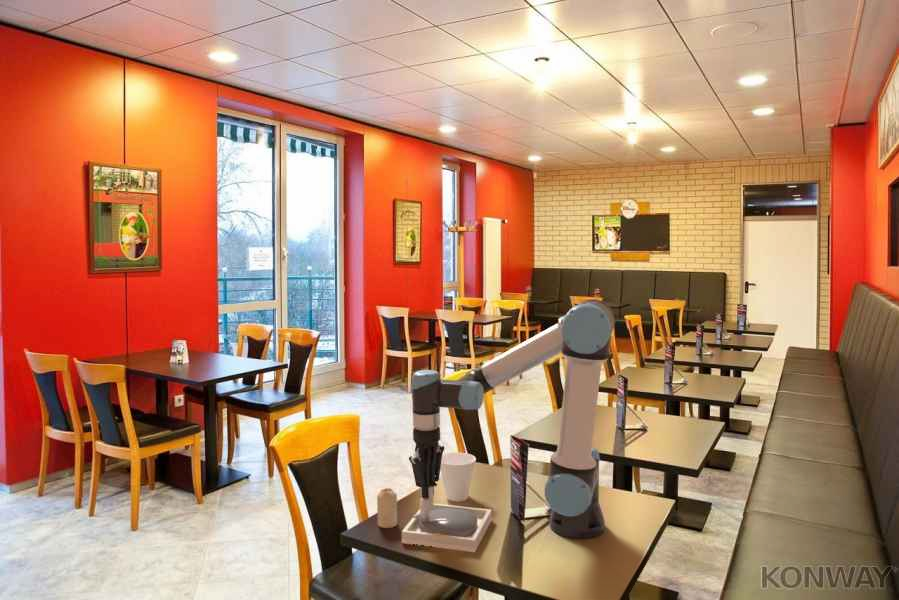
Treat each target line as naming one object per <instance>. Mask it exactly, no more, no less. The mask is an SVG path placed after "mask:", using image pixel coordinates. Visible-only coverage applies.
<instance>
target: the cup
mask: <svg viewBox="0 0 899 600" xmlns="http://www.w3.org/2000/svg"><path fill="white" fill-rule="evenodd" d="M476 460H477V458H476V456H474V454H470V453H466V452H449V453H448V452H447V453H445V454H442V460H441V468H440V474H441V477H442V482H443V487H444V491H445V493H444V494H445V496H446V499H447V500H449V501H451V502H464V501H467V499H468V498H469V496H470V489H471V486H472V481H473V476H474V471H475V467H476V466H475V465H476Z"/></svg>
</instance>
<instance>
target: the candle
mask: <svg viewBox="0 0 899 600" xmlns="http://www.w3.org/2000/svg"><path fill="white" fill-rule="evenodd" d="M397 495H398V494H397V493H396V492H395V491H394V490H393V489H392V488H391V487H390V488H388V487H387V488H383V489H381V490H380V492H378V493H377V496H376V498H377V499H376V500H377V501H376V503H377V504H376V505H377V506H376V507H377V509H376V510H377V526H378V527H380V528H383V529H390V528H394V527H396V526H397V525H398V496H397Z"/></svg>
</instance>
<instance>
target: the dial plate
mask: <svg viewBox="0 0 899 600" xmlns="http://www.w3.org/2000/svg"><path fill="white" fill-rule="evenodd" d="M441 508H457V509H462V510H466V511H469V512H471V513H473V514H474V515H475V516H476V517H477V530H476V531H475V533H473V534H472V535H470V536H468V537H457V536H449V535H442V534H441V533H435V534H432V533H424V532H421V531H420V529H419V519H420V508H419V509H418V510H417V512H416V513H414V515H413V516H412V518H411V519H410V520H409V522H408V523H407V524H406V526H404V528H403V530H401V544H406V545H413V544H415V546H421V545H424V546H423V547H429V546H432V547H431V548H438V549H446V550H453V551H461V552H469V553H476V552H477V549H478V547H479V545H480V543H481V542H482V541H483V538H484V536H485V534H486V532H487V530H488V528H489V526H490V524H491V522H492V509H488V508H481V507H479V508H478V507H472V506H471V507H469V506H463V505H462V506H460V505H452V504H444V503H443V504H442V503H434V502H433V510H435V509H441ZM429 511H430V510H429ZM416 544H417V545H416Z"/></svg>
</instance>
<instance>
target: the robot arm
mask: <svg viewBox="0 0 899 600" xmlns="http://www.w3.org/2000/svg"><path fill="white" fill-rule="evenodd" d="M615 325H616V318H615V314H614V311H613V310H612V308H611V307H610V306H609V305H608V304H607V303H605V302H604V301H601V300H599V299H592V298H591V299H586V300H583V301H581V302H579V303H578V304H576V305H574V306H572V307H571V308H570V309H569V310H568V311H567V312H566V314H564V315H562V316H561V317H559V318H558V322H557V323H555V324H554V325H552V326H550V327H548V328H547V329H545V330H543V331H541V332H540V333H539V332H538V333H537V334H536V335H534V336H533V337H530V338H529V339H526V340H525V341H523V342H521V343H520V344H517V345H516V346H514V347H512V348H510V349H508V350H507V351H505V352H503V353H501V354H500V355H497V356H496V357H493V358H492V359H490V360H489V361H487V362H485V363H483V364H482V365H480V366H478V367H476V368H473V369H471V370H470V371H467V372H466V373H465V374H464V375H463V376H461V377H460V378H458V379H443V378H441V377H440V373H439V371H437V370H433V369H432V370H431V369H423V370H422V369H421V370H418V371H415V372H414V373H413V374H412V377H411V387H410V388H411V396H412V397H411V401H412V402H411V403H412V425H413V428H412V440H413V441H414V443H415V448H414V453H413V456H412V455H409V457H408V460H409V462H410V464H411V466H412V467H411V468H412V473H413V476H414V482H415V486H416V487H418V488H421V498H428V499H429V510H430V511H431V510H433V503H434V497H435V496H434V495H435V491H434V490H435V487H437V486H438V482H439V480H440V474H441V470H440V468H441V460H442V455H444V454H443V453H444V451H445V446H444V445H440V444H439V441H440V440H441V427H440V425H441V411H440V410H441V408H447V409H460V410H466V411H470V410H480V408H481V407H482V405H483V402H484V396H485V394H487V393H489V392H490V391H492V390H495V388H498V387H500V386H502V385H503V384H506V383H507V382H509V381H511V380H513V379H515V378H517V377H518V376H520V375H522V374H524V373H525V372H528V371H530V370H531V369H534V368H536V367H538V366H539V365H541V364H543V363H545V362H547V361H550V360H551V359H553V358H554V357H556V356H559V355H560V354H561V355H562V356H563V357H564V359H565V360H566V366H565V376H564V384H563V392H562V393H563V395H562V403H561V412H560V423H559V430H558V431H559V432H558V440H557V441H558V442H557V448H556V451H554V452H553V453H552V454H551V455H550V461H549V469H548V478H547V481H546V482H545V484H544V497H545V501H546V503H547V504H548V506H549V507H550V508H551V509H552V510H551V512H550V516H549V528H550V529H551V530H552V531H553V532H554V533H556V534H557V535H560V536H562V537H567V538H571V539H591V538H596V537H598V536H600V535H602V534H603V533H604V532H605V528H606V527H605V526H606V525H605V524H606V522H605V521H606V520H605V518H604V514H603V511H602V508H601V505H600V502H599V500H600V499H599V495H600V488H599V487H600V480H599V479H600V461H601V458H600V452H599V450H598V449H597V448H596V447H594V446H593V443H594V442H593V441H594V433H595V426H596V425H595V424H596V417H597V416H596V415H597V405H598V398H599V388H600V382H601V381H600V380H601V372H602V366H603V364H604V363H606V362H607V361H608V360H609V355H610V348H611V341H612V340H611V339H612V333H613V332H614V329H615ZM436 482H437V483H436Z"/></svg>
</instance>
